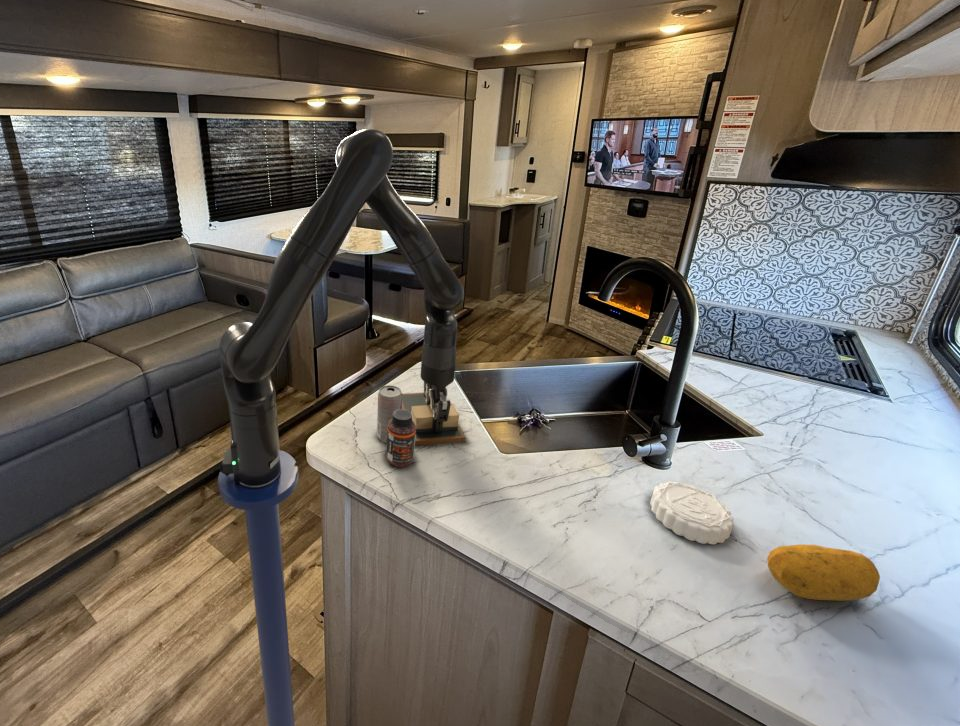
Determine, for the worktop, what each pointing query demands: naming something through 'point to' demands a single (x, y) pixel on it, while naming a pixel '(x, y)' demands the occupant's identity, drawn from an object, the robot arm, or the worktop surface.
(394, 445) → the supplement bottle
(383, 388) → the energy drink
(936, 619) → the worktop surface
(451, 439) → the chalkboard
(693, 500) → the mooncake
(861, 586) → the potato
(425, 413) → the eraser
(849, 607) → the worktop surface
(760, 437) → the worktop surface
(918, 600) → the worktop surface
